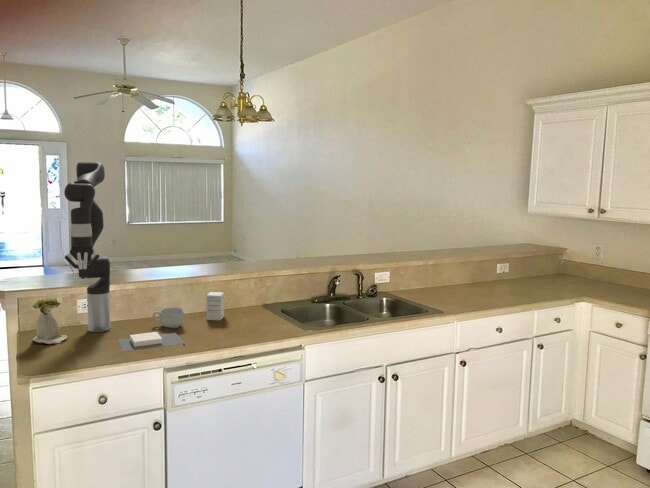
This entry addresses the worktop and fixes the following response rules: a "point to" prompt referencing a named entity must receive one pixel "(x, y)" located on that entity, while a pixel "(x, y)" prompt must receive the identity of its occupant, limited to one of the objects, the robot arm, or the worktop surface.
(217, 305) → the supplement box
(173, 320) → the teacup
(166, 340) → the mat
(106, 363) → the worktop surface
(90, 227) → the robot arm
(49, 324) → the potted leafy plant
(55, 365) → the worktop surface
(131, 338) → the tile
